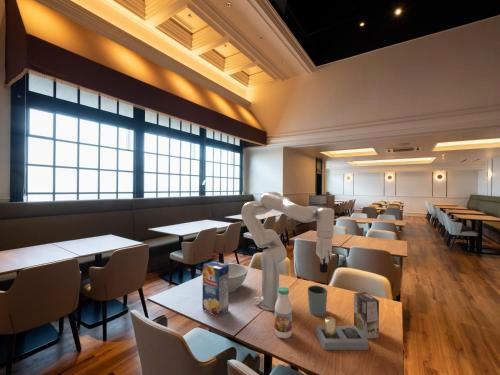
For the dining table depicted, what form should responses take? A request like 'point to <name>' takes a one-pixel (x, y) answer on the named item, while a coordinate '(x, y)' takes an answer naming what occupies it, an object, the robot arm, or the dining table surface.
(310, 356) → the dining table surface
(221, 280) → the juice carton
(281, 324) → the milk bottle
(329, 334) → the brass cylinder
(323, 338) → the frame
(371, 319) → the coffee box
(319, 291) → the grey green cup
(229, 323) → the dining table surface
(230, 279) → the decorative bowl
